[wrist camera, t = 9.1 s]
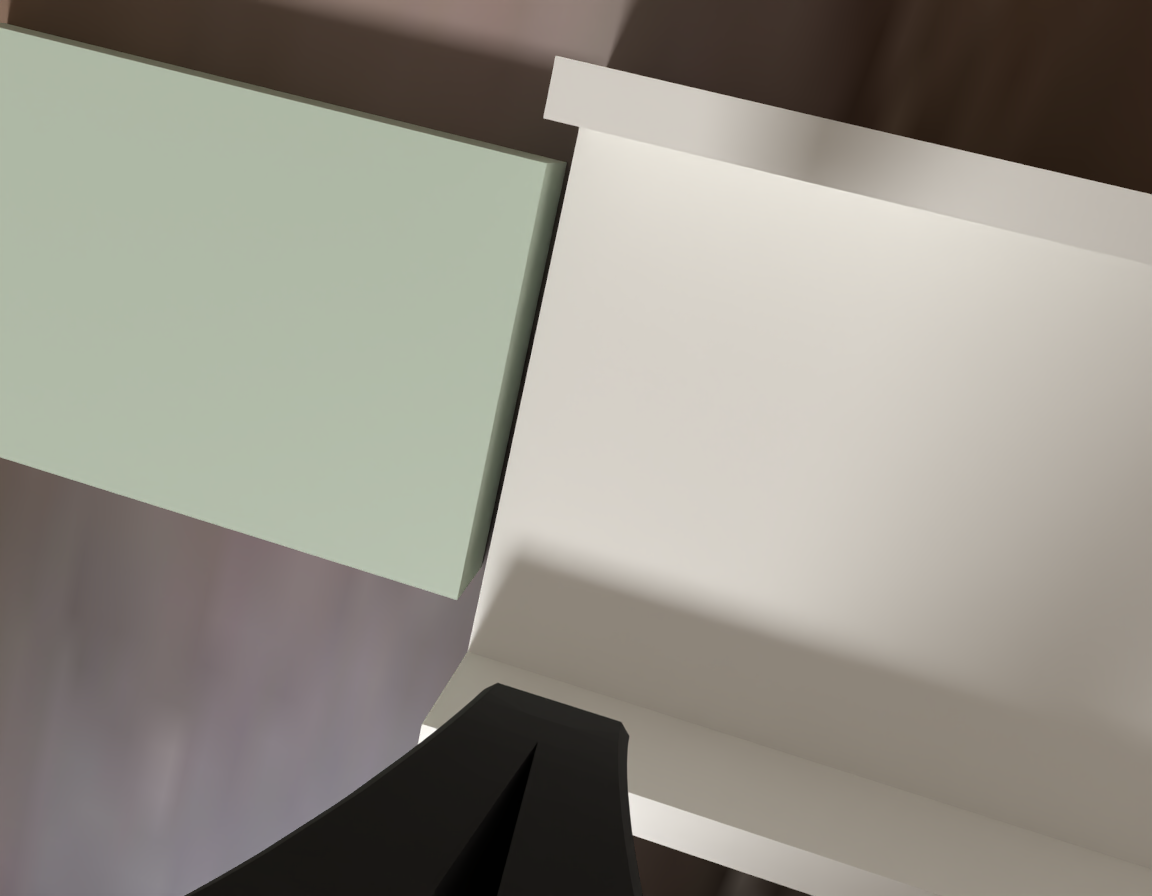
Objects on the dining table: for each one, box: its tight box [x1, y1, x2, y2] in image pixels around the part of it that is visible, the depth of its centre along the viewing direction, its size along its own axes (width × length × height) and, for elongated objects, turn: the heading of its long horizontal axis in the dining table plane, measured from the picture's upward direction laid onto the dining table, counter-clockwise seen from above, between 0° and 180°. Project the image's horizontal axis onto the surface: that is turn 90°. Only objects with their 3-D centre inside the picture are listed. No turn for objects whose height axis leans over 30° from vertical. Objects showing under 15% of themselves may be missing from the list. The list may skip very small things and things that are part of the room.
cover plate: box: [0, 23, 567, 600], centre depth 18 cm, size 8×11×2 cm
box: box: [418, 56, 1152, 896], centre depth 15 cm, size 12×21×4 cm, turn 77°
